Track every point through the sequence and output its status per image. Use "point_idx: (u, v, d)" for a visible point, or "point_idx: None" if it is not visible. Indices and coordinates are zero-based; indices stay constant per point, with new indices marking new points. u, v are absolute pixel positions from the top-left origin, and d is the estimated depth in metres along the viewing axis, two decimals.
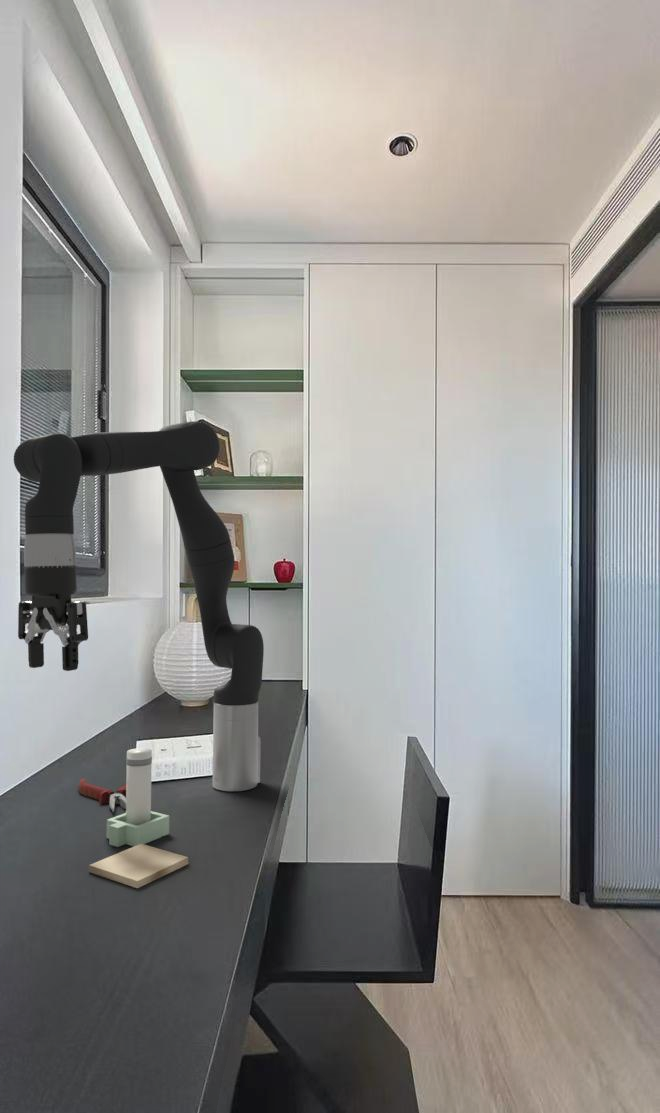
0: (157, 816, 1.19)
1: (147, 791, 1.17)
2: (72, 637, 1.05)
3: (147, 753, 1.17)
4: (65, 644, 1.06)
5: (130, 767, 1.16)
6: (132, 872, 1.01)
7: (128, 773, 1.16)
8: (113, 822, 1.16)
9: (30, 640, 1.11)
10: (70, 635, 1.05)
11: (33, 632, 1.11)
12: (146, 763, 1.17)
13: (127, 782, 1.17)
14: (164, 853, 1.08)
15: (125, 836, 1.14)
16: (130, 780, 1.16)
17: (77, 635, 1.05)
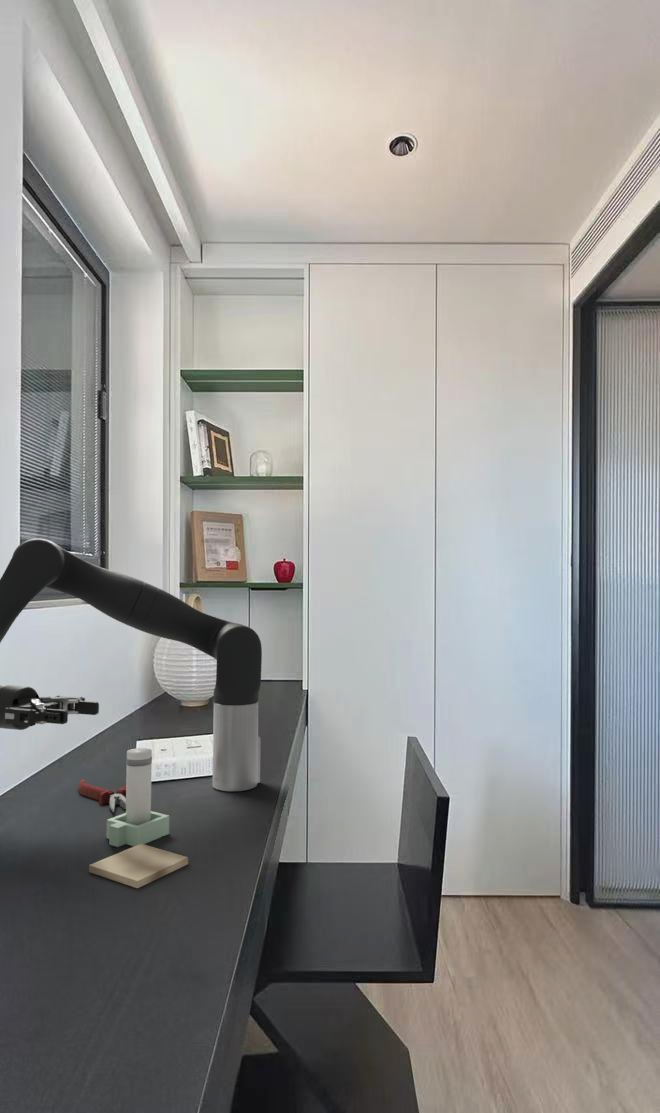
0: (157, 816, 1.19)
1: (147, 791, 1.17)
2: None
3: (147, 753, 1.17)
4: (42, 723, 1.18)
5: (130, 767, 1.16)
6: (132, 872, 1.01)
7: (128, 773, 1.16)
8: (113, 822, 1.16)
9: (75, 713, 1.27)
10: None
11: None
12: (146, 763, 1.17)
13: (127, 782, 1.17)
14: (164, 853, 1.08)
15: (125, 836, 1.14)
16: (130, 780, 1.16)
17: (27, 721, 1.16)
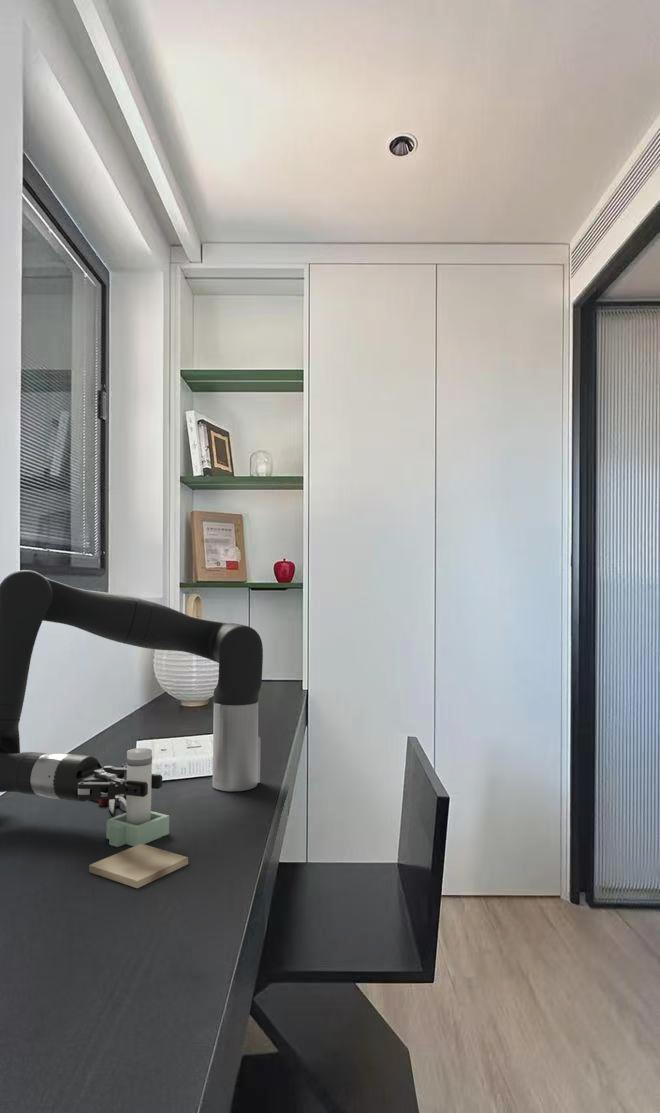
0: (157, 816, 1.19)
1: None
2: (110, 798, 1.14)
3: (147, 753, 1.17)
4: (123, 795, 1.16)
5: (130, 767, 1.16)
6: (132, 872, 1.01)
7: (128, 773, 1.17)
8: (113, 822, 1.16)
9: None
10: None
11: None
12: (147, 763, 1.17)
13: None
14: (164, 853, 1.08)
15: (125, 836, 1.14)
16: (131, 780, 1.16)
17: (107, 795, 1.14)
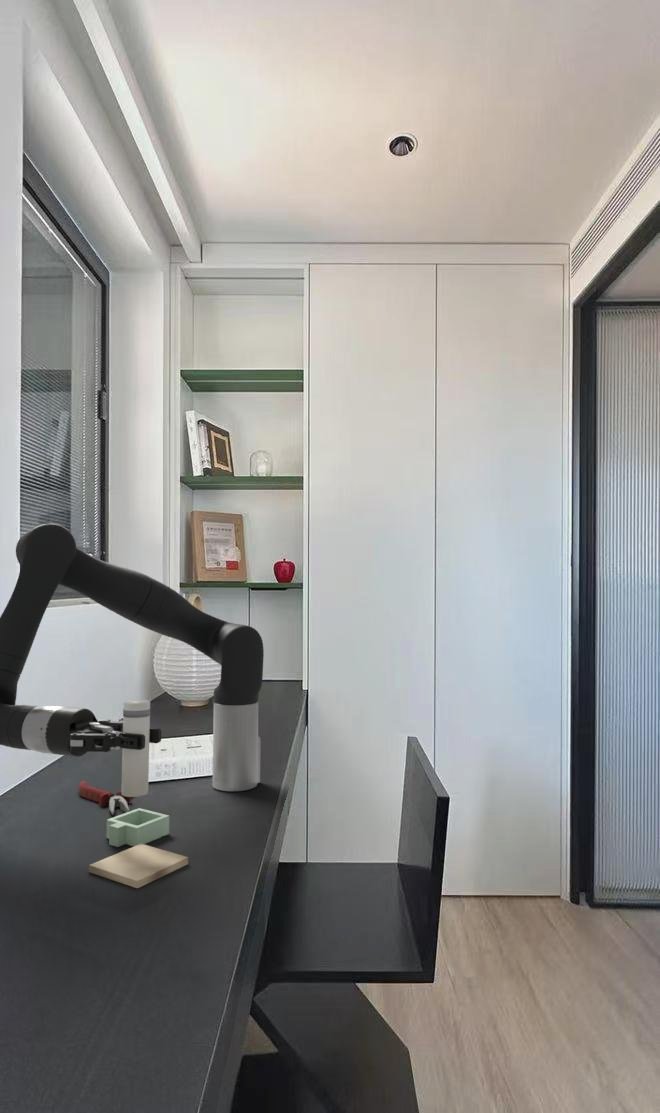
0: (157, 816, 1.19)
1: (145, 744, 1.09)
2: None
3: (145, 704, 1.09)
4: (119, 748, 1.08)
5: (126, 719, 1.09)
6: (132, 872, 1.01)
7: (125, 725, 1.09)
8: (113, 822, 1.16)
9: None
10: None
11: None
12: (144, 715, 1.09)
13: None
14: (164, 853, 1.08)
15: (125, 836, 1.14)
16: (127, 732, 1.09)
17: (102, 747, 1.06)
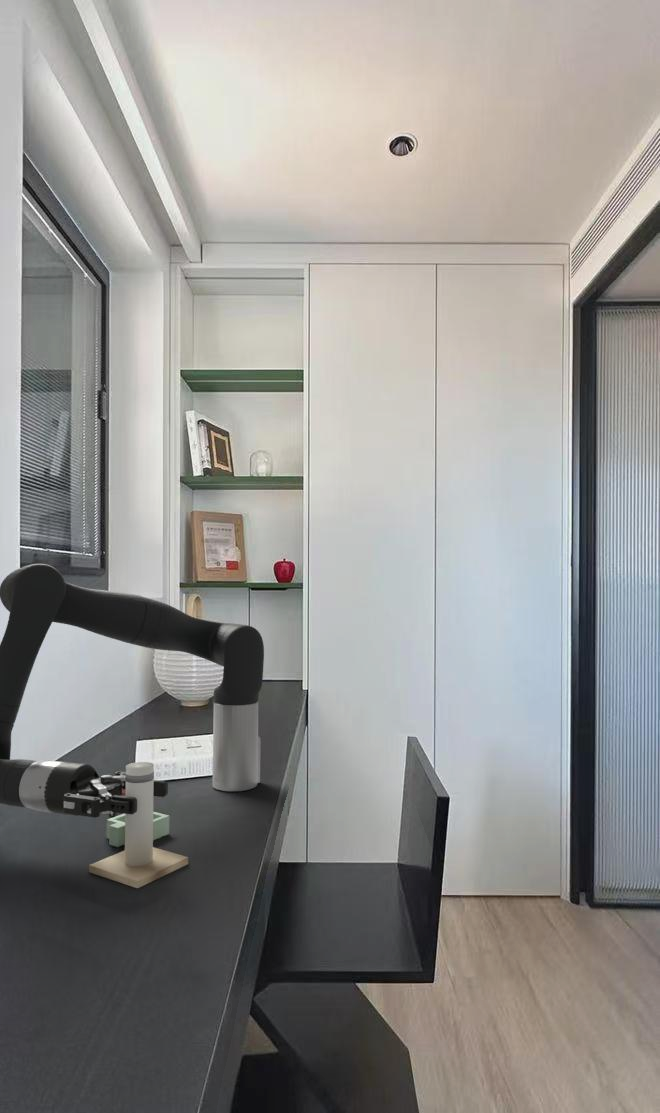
0: (157, 816, 1.19)
1: (149, 811, 1.04)
2: (93, 816, 1.00)
3: (148, 768, 1.04)
4: None
5: (129, 784, 1.03)
6: (132, 872, 1.01)
7: (127, 791, 1.04)
8: (113, 822, 1.16)
9: None
10: None
11: None
12: (148, 780, 1.04)
13: None
14: (164, 853, 1.08)
15: None
16: None
17: (91, 812, 0.99)
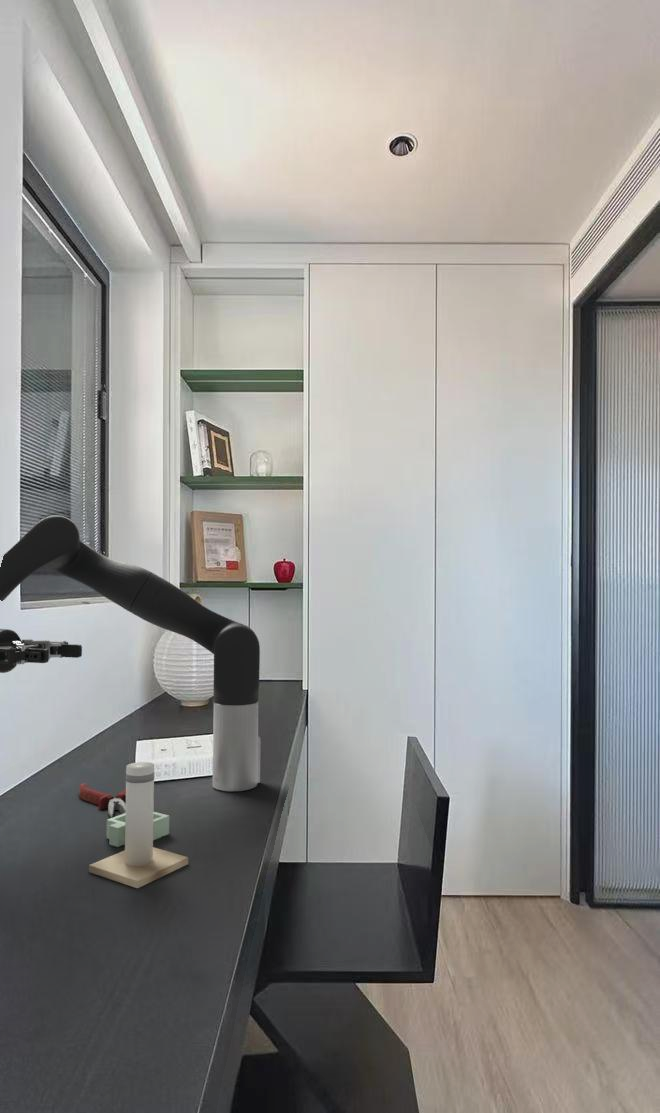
0: (157, 816, 1.19)
1: (149, 811, 1.04)
2: (10, 664, 1.14)
3: (149, 768, 1.04)
4: (23, 663, 1.15)
5: (130, 784, 1.03)
6: (132, 872, 1.01)
7: (128, 791, 1.04)
8: (113, 822, 1.16)
9: (58, 656, 1.24)
10: None
11: None
12: (148, 780, 1.04)
13: (126, 801, 1.04)
14: (164, 853, 1.08)
15: None
16: (130, 798, 1.03)
17: (7, 660, 1.14)
